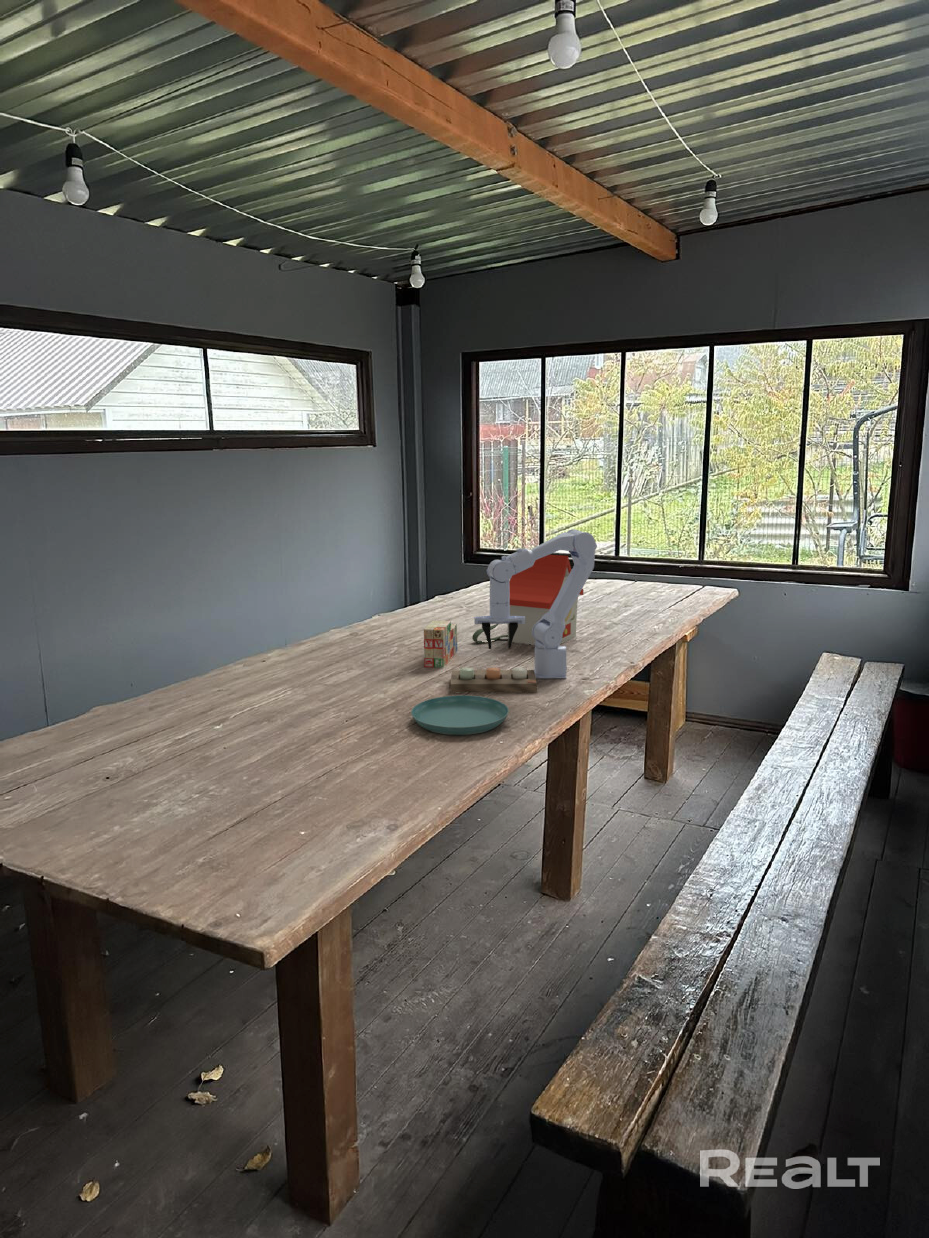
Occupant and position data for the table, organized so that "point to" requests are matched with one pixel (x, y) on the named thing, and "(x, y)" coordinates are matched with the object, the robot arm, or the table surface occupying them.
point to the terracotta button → (492, 673)
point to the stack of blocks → (439, 643)
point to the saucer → (460, 714)
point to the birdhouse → (538, 597)
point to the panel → (493, 682)
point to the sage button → (466, 673)
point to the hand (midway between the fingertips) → (499, 648)
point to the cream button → (519, 673)
